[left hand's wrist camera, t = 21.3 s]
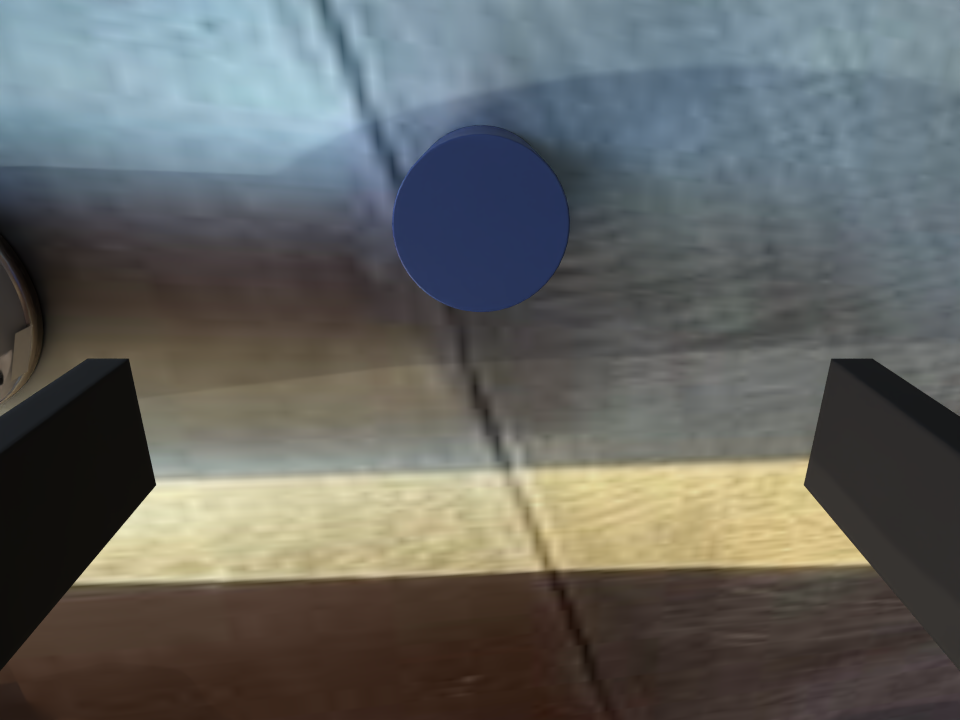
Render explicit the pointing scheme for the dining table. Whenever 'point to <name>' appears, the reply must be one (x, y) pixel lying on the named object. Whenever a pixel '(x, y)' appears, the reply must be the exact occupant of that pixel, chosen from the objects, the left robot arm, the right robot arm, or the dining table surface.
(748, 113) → the dining table surface
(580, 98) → the dining table surface
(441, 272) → the canister
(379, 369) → the dining table surface
